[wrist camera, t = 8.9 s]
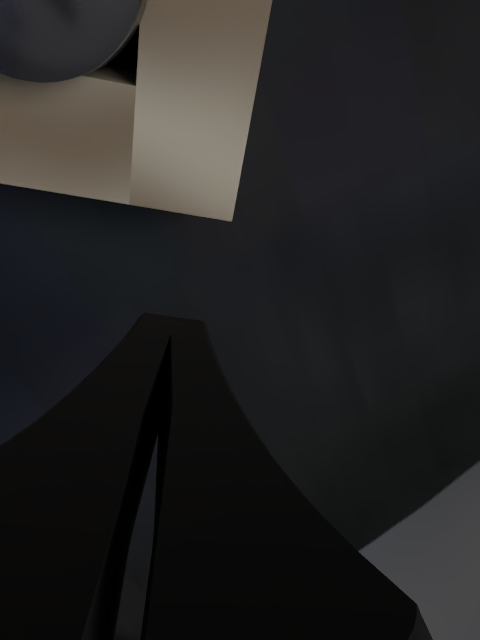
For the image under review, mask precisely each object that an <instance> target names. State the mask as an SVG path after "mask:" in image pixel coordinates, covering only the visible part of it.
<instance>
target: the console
mask: <svg viewBox="0 0 480 640" xmlns="http://www.w3.org/2000/svg"><path fill="white" fill-rule="evenodd" d="M271 4H272V0H147V4H146V8H145V11H144V13H143V16H142V19H141V22H140V28H139V45H138V62H137V70H134V69H129V68H124V67H119V66H114V65H109V64H106V65H104V66H102V67H101V68H99V69H97V70H95V71H93V72H90V73H87V74H84V75H82V76H79V77H76V78H73V79H69V80H64V81H59V82H47V83H39V82H29V81H23V80H19V79H15V78H11V77H8V76H6V75H3V74H0V183H1V184H7V185H13V186H19V187H26V188H32V189H38V190H44V191H50V192H56V193H62V194H68V195H74V196H80V197H86V198H92V199H99V200H105V201H111V202H117V203H123V204H129V205H135V206H141V207H147V208H153V209H159V210H165V211H172V212H178V213H184V214H190V215H196V216H202V217H208V218H214V219H220V220H226V221H232V218H233V213H234V207H235V202H236V196H237V191H238V185H239V180H240V174H241V169H242V163H243V158H244V152H245V147H246V141H247V136H248V130H249V125H250V119H251V114H252V108H253V103H254V98H255V92H256V87H257V81H258V76H259V70H260V65H261V59H262V54H263V48H264V43H265V37H266V32H267V26H268V21H269V15H270V10H271Z"/></svg>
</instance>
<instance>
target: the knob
mask: <svg viewBox="0 0 480 640" xmlns="http://www.w3.org/2000/svg"><path fill="white" fill-rule="evenodd" d="M146 4H147V0H0V74H3V75H6V76H8V77H11V78H15V79H19V80H23V81H29V82H39V83H47V82H59V81H64V80H69V79H73V78H76V77H79V76H82V75H84V74H87V73H90V72H93V71H95V70H97V69H99V68H101V67H102V66H104V65H106V64H107V63H109V62H110V61H111V60H112V59H114V58H115V57H116V56H117V55H118V54H119V53H120V52H121V51H122V50H123V49H124V48H125V47H126V45H127V44H128V43H129V41H130V40H131V38H132V37H133V35H134V34H135V32H136V30H137V28H138V26H139V24H140V22H141V19H142V16H143V13H144V11H145V8H146Z"/></svg>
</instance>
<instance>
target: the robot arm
mask: <svg viewBox="0 0 480 640" xmlns="http://www.w3.org/2000/svg"><path fill="white" fill-rule="evenodd" d="M157 435H158V451H157V473H156V496H155V518H154V535H153V547H152V556H151V563H150V571H149V578H148V586H147V594H146V601H145V609H144V616H143V624H142V631H141V639H140V640H433V639H432V637H431V635H430V633H429V631H428V628H427V626H426V624H425V622H424V620H423V618H422V616H421V613H420V611H419V608H418V606H417V604H416V603H415V602H414V601H413V600H411V599H410V598H409V597H408V596H407V595H406V594H405V593H404V592H403V591H402V590H400V589H399V588H398V587H397V586H396V585H395V584H394V583H393V582H391V581H390V580H389V579H388V578H387V577H386V576H385V575H384V574H382V573H381V572H380V571H379V570H378V569H377V568H376V567H375V566H374V565H372V564H371V563H370V562H369V561H368V560H367V559H366V558H365V557H364V556H362V555H361V554H360V553H359V552H358V551H357V550H356V549H355V548H354V547H353V546H352V545H351V544H350V543H349V542H348V541H347V540H346V539H345V538H344V537H343V536H342V535H341V534H340V533H339V532H338V531H337V530H336V529H335V528H334V527H333V526H332V525H331V524H330V523H329V522H328V521H327V520H326V519H325V518H324V517H323V516H322V515H321V513H320V512H319V511H318V510H317V509H316V508H315V507H314V505H313V504H312V503H311V502H310V501H309V500H308V499H307V497H306V496H305V495H304V494H303V493H302V492H301V491H300V489H299V488H298V487H297V486H296V485H295V484H294V483H293V481H292V480H291V479H290V478H289V477H288V475H287V474H286V473H285V471H284V470H283V469H282V467H281V466H280V465H279V464H278V462H277V461H276V460H275V458H274V457H273V456H272V454H271V453H270V451H269V450H268V449H267V447H266V446H265V444H264V443H263V441H262V440H261V439H260V437H259V436H258V434H257V433H256V431H255V429H254V428H253V426H252V425H251V423H250V421H249V420H248V418H247V417H246V415H245V413H244V411H243V410H242V408H241V406H240V404H239V403H238V401H237V399H236V397H235V395H234V393H233V391H232V390H231V388H230V386H229V383H228V381H227V379H226V377H225V375H224V373H223V371H222V369H221V367H220V364H219V362H218V360H217V357H216V355H215V352H214V349H213V347H212V344H211V341H210V338H209V334H208V330H207V326H206V325H205V324H204V322H203V321H199V320H192V319H184V318H177V317H170V316H162V315H155V314H148V313H144V314H143V315H141V316H140V317H139V318H138V320H137V321H136V323H135V324H134V325H133V327H132V328H131V329H130V331H129V332H128V333H127V334H126V336H125V337H124V338H123V339H122V340H121V342H120V343H119V344H118V345H117V346H116V347H115V348H114V350H113V351H112V352H111V353H110V354H109V355H108V356H107V357H106V358H105V359H104V360H103V361H102V362H101V363H100V365H99V366H98V367H97V368H96V369H95V370H94V371H93V372H92V373H90V374H89V375H88V376H87V377H86V378H85V379H84V380H83V381H82V382H81V383H80V384H79V385H78V386H76V387H75V388H74V389H73V390H72V391H71V392H70V393H69V394H68V395H67V396H65V397H64V398H63V399H62V400H61V401H60V402H58V403H57V404H56V405H55V406H54V407H52V408H51V409H50V410H49V411H47V412H46V413H45V414H44V415H42V416H41V417H40V418H38V419H37V420H36V421H34V422H33V423H32V424H31V425H29V426H28V427H27V428H25V429H24V430H22V431H21V432H20V433H18V434H17V435H15V436H14V437H12V438H11V439H9V440H8V441H7V442H5V443H4V444H2V445H1V446H0V640H114V635H115V629H116V623H117V617H118V611H119V605H120V599H121V593H122V587H123V581H124V575H125V569H126V563H127V557H128V551H129V546H130V541H131V537H132V532H133V528H134V524H135V520H136V516H137V512H138V508H139V504H140V500H141V497H142V493H143V489H144V485H145V481H146V477H147V473H148V470H149V466H150V462H151V458H152V454H153V450H154V446H155V443H156V439H157Z"/></svg>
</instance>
